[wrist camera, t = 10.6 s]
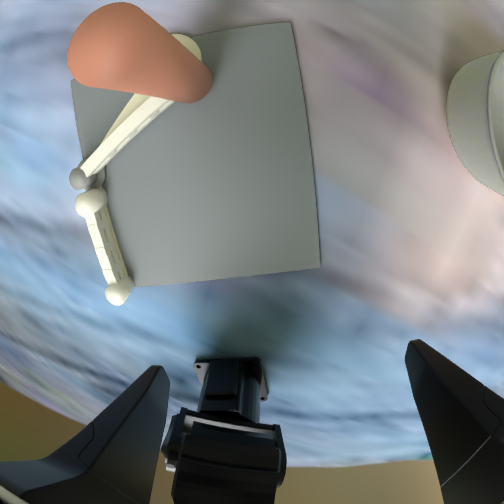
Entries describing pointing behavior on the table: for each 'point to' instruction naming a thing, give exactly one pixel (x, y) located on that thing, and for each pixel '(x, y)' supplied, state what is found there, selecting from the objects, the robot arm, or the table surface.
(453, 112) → the teacup
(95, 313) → the table surface
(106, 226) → the cream dumbbell
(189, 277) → the board
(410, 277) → the table surface
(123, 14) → the brown cylinder with stick
